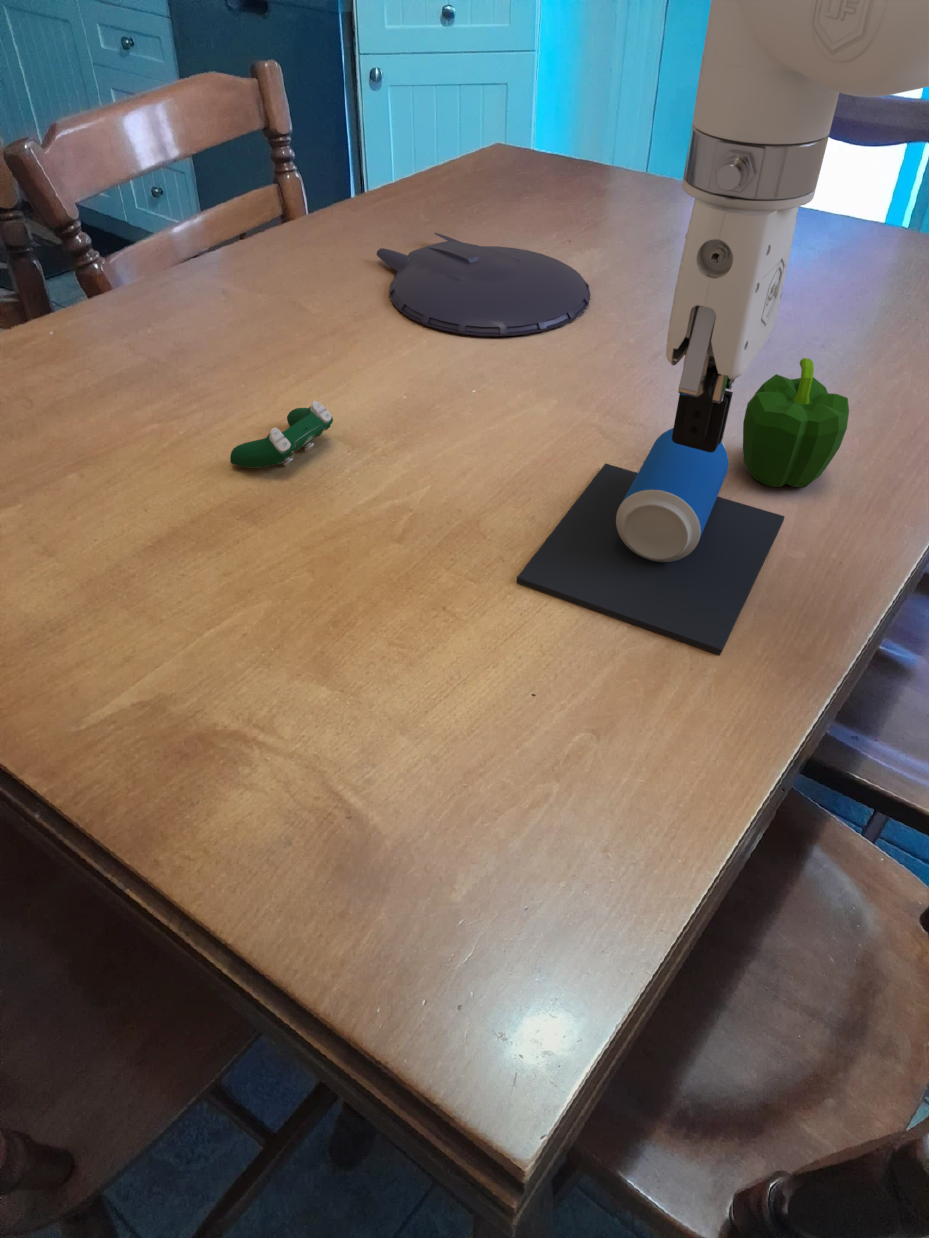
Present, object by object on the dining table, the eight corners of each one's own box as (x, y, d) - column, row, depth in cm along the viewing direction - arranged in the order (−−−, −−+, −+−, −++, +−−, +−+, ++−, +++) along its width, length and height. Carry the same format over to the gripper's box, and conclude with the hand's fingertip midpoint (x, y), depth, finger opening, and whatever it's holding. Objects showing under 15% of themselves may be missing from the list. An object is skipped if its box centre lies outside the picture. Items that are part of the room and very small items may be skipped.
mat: (783, 521, 75) (784, 516, 75) (719, 655, 63) (721, 649, 63) (604, 468, 81) (605, 463, 80) (516, 583, 69) (516, 577, 68)
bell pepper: (811, 512, 76) (847, 407, 69) (719, 481, 79) (744, 378, 72) (839, 466, 81) (875, 364, 74) (751, 439, 84) (778, 338, 78)
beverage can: (692, 576, 68) (725, 493, 77) (703, 505, 64) (737, 425, 72) (610, 557, 71) (651, 479, 79) (615, 488, 66) (658, 412, 74)
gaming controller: (250, 491, 80) (281, 466, 76) (222, 456, 79) (252, 429, 75) (316, 445, 86) (348, 419, 81) (291, 412, 85) (322, 384, 81)
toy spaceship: (331, 275, 111) (328, 249, 109) (479, 232, 122) (479, 207, 120) (478, 359, 95) (479, 330, 93) (632, 300, 107) (636, 273, 104)
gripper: (785, 212, 45) (716, 511, 58) (846, 141, 55) (775, 410, 67) (644, 189, 48) (607, 479, 60) (726, 125, 58) (679, 386, 70)
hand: (696, 442), depth 64 cm, fingers closed
